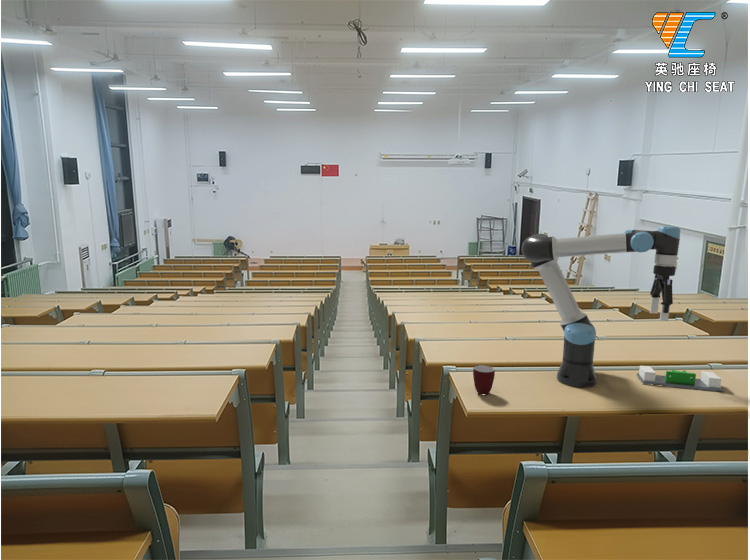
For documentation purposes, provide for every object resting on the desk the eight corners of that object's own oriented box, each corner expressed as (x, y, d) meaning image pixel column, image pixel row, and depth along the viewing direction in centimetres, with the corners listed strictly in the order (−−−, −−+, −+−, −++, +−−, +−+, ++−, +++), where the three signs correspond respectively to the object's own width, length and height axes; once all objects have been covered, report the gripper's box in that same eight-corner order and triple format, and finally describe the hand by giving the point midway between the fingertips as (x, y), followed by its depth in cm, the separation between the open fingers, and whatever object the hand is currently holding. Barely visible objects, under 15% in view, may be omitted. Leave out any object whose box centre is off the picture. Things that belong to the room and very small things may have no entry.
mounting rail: (643, 384, 193) (644, 372, 192) (636, 375, 202) (637, 364, 201) (722, 391, 185) (723, 379, 184) (711, 382, 194) (713, 371, 194)
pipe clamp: (691, 381, 193) (692, 371, 193) (694, 384, 190) (696, 374, 189) (663, 378, 196) (664, 368, 195) (665, 381, 193) (667, 371, 192)
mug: (466, 387, 188) (467, 363, 186) (485, 386, 189) (486, 362, 188) (477, 398, 178) (478, 373, 176) (497, 396, 179) (498, 371, 178)
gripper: (687, 269, 175) (679, 325, 178) (665, 262, 198) (659, 310, 202) (664, 268, 177) (657, 323, 180) (645, 261, 200) (640, 309, 204)
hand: (658, 316), depth 191 cm, fingers open, 13 cm apart
